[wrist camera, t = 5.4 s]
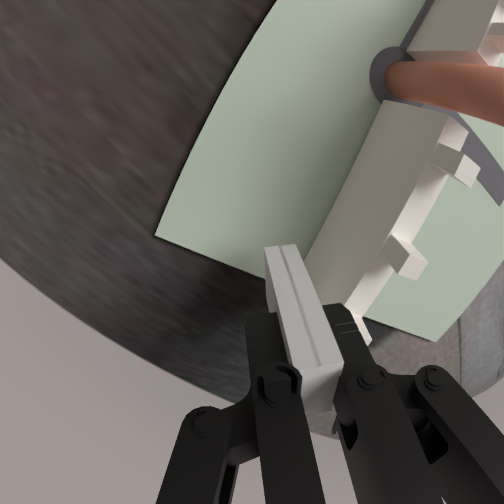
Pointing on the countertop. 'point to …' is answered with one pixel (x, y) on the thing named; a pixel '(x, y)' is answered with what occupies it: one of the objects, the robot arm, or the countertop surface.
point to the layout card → (332, 157)
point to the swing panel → (386, 206)
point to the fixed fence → (455, 60)
